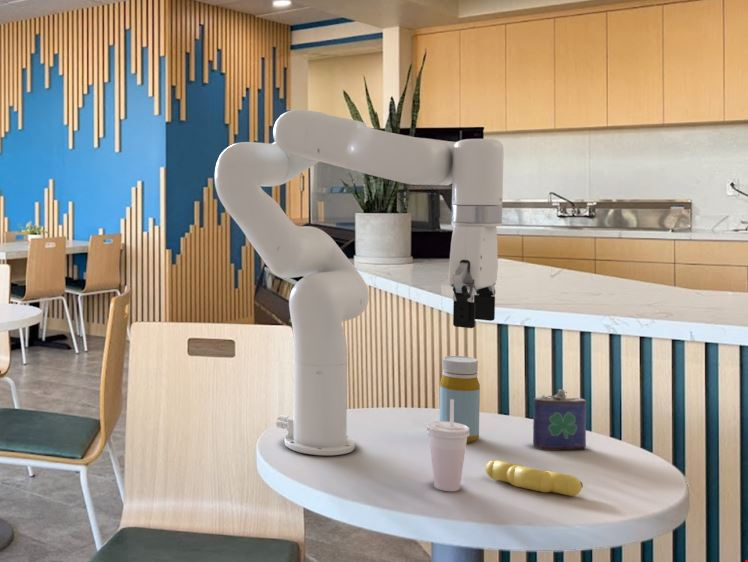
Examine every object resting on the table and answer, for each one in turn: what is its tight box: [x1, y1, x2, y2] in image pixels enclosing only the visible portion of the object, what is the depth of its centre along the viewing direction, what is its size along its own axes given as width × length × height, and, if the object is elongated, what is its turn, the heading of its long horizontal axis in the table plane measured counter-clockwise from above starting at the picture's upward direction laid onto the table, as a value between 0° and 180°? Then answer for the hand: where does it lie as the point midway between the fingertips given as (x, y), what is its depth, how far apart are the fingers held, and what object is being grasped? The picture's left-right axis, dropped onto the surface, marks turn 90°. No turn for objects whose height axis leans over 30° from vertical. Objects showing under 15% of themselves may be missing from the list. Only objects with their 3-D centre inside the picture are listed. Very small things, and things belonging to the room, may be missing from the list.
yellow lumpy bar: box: [485, 459, 584, 497], centre depth 136 cm, size 14×4×3 cm, turn 48°
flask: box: [532, 388, 587, 451], centre depth 157 cm, size 9×3×11 cm, turn 88°
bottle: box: [438, 355, 481, 444], centre depth 163 cm, size 7×7×15 cm
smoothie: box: [425, 399, 470, 492], centre depth 136 cm, size 6×6×14 cm
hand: (474, 323), depth 139 cm, fingers open, 9 cm apart
